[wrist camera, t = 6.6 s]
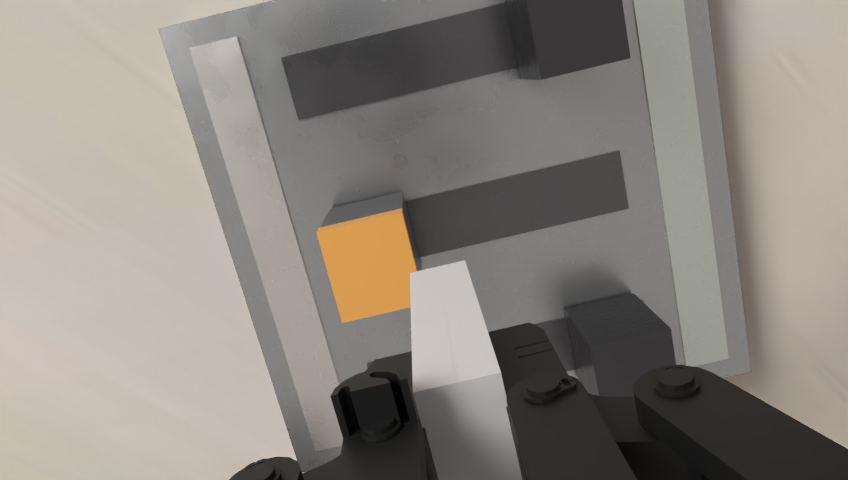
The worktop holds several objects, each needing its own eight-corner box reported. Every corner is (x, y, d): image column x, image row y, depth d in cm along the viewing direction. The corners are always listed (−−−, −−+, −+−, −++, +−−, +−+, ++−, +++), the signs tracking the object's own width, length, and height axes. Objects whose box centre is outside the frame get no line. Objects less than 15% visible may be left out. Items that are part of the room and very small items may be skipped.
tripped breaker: (330, 208, 28) (316, 232, 23) (402, 191, 28) (402, 212, 23) (351, 286, 28) (342, 323, 24) (421, 269, 28) (424, 304, 24)
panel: (175, 32, 28) (109, 19, 22) (674, -92, 27) (753, -142, 21) (307, 449, 33) (284, 535, 27) (730, 354, 32) (807, 419, 26)
